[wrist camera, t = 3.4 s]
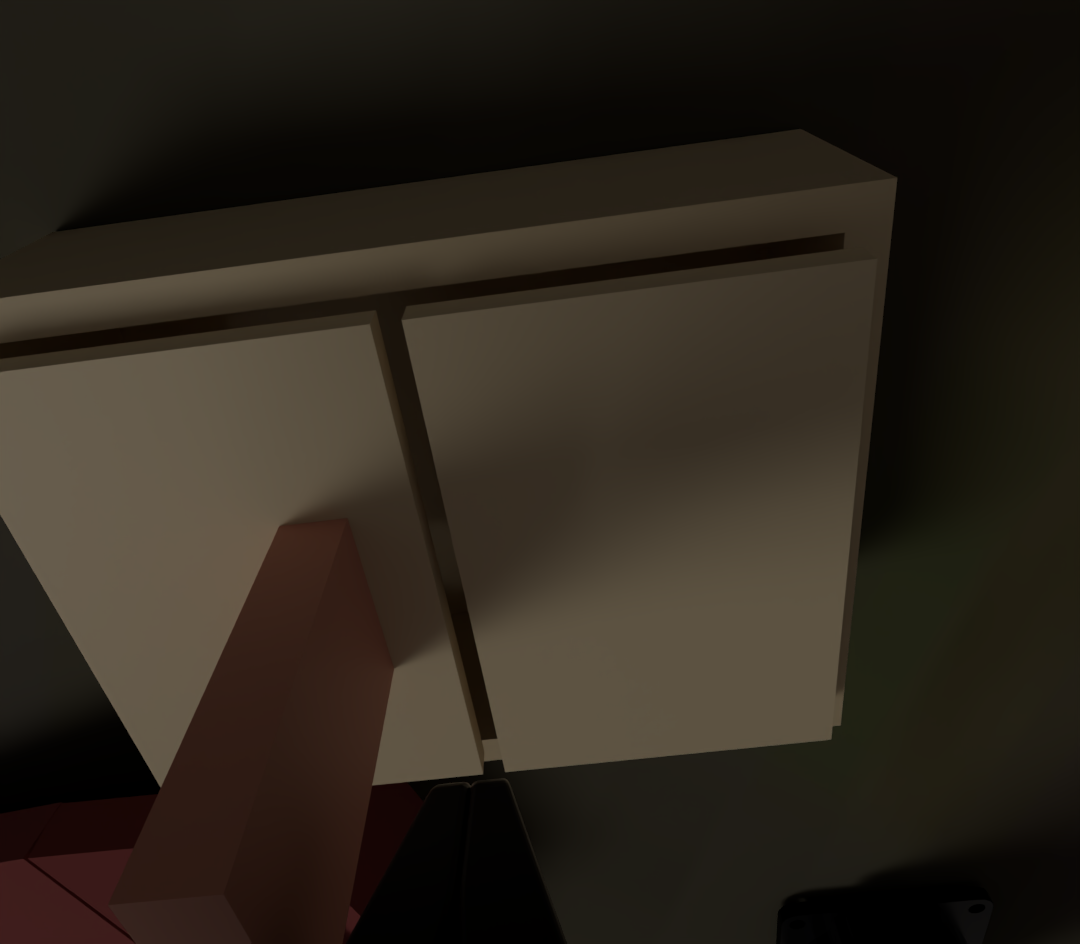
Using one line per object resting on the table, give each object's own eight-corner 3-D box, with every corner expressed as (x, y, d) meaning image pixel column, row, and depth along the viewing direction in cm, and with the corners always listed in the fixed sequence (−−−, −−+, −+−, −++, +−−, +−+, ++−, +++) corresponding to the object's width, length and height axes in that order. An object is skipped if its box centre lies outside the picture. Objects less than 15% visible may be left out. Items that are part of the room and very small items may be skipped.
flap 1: (484, 751, 15) (464, 1159, 10) (180, 782, 15) (3, 1195, 10) (376, 309, 10) (229, 633, 5) (-54, 365, 11) (-597, 724, 5)
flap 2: (822, 717, 14) (831, 740, 14) (505, 749, 15) (504, 772, 14) (861, 246, 10) (878, 258, 9) (406, 305, 10) (401, 319, 10)
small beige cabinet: (782, 588, 18) (840, 725, 15) (237, 648, 19) (176, 792, 16) (800, 129, 13) (897, 177, 10) (52, 231, 14) (-101, 311, 10)
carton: (-27, 956, 33) (507, 899, 25) (-121, 1099, 29) (479, 1086, 21) (-290, 787, 27) (297, 641, 19) (-453, 937, 23) (202, 832, 15)
